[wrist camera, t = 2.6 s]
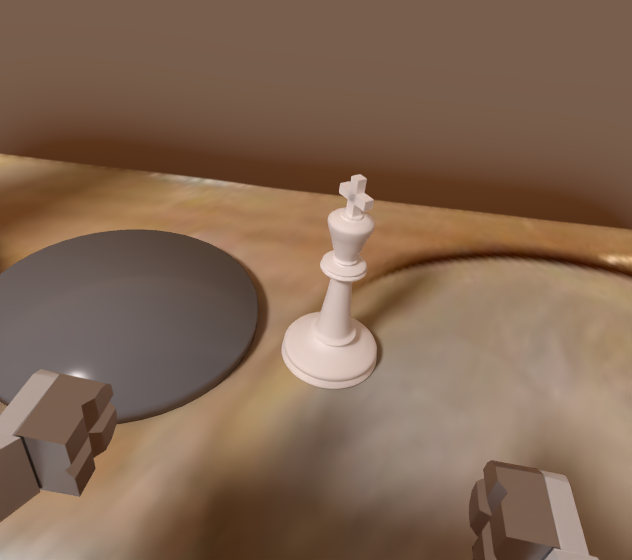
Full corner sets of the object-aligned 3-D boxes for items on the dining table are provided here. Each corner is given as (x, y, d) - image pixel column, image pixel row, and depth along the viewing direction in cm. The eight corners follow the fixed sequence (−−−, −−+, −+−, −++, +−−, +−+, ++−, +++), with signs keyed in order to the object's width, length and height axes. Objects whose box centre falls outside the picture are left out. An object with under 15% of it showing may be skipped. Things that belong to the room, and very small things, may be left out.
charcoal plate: (280, 261, 33) (281, 251, 32) (213, 453, 22) (212, 442, 21) (66, 224, 33) (64, 213, 33) (-105, 391, 22) (-113, 379, 22)
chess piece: (316, 404, 24) (347, 220, 18) (263, 338, 27) (274, 162, 21) (395, 366, 27) (446, 193, 20) (339, 309, 30) (368, 144, 23)
